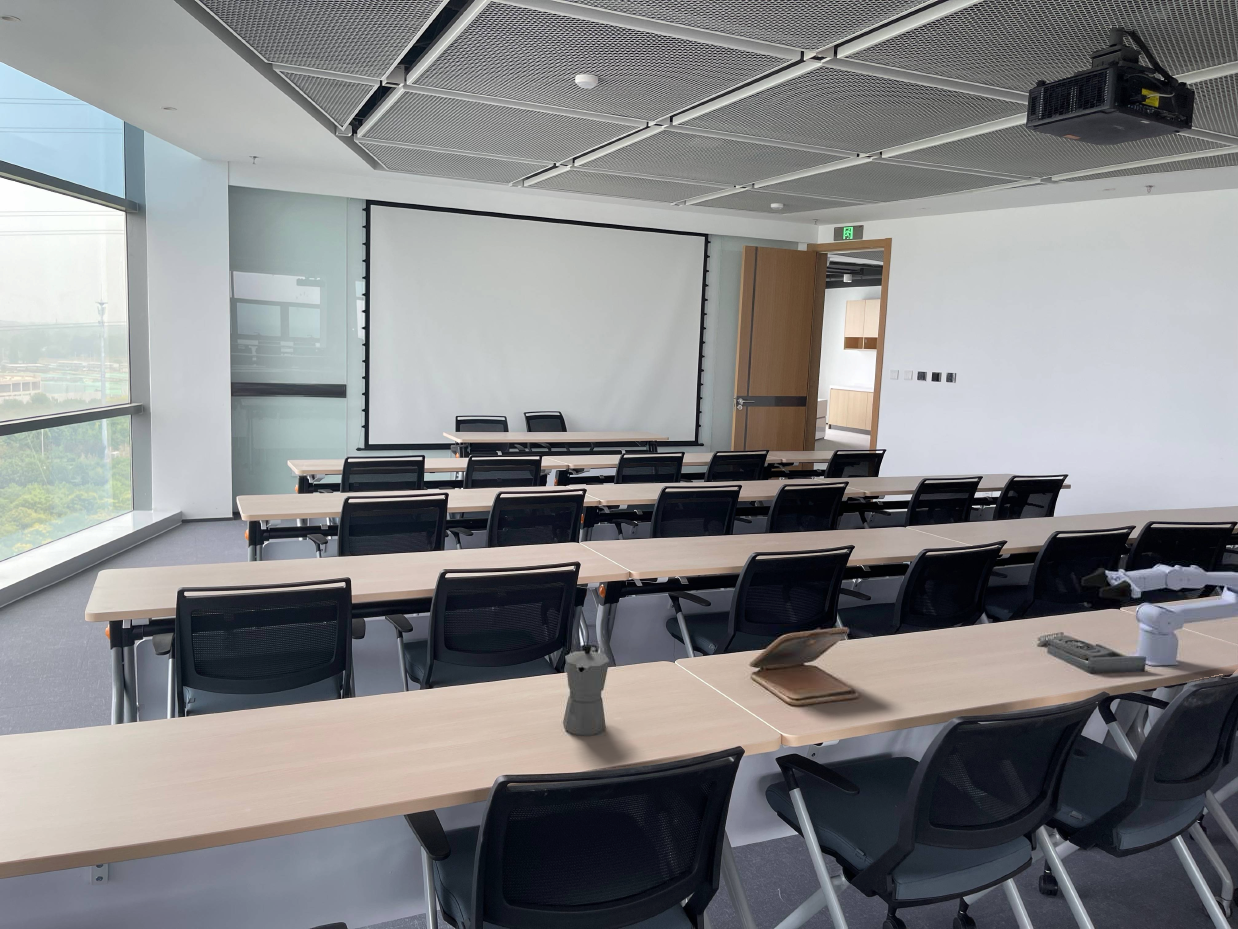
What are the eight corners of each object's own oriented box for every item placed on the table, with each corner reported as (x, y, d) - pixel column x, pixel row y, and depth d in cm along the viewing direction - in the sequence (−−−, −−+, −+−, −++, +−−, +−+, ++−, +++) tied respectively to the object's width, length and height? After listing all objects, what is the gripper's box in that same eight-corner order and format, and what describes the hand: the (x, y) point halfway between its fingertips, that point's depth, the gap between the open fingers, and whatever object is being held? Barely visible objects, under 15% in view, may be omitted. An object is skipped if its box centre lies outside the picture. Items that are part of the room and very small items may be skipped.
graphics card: (1034, 635, 243) (1061, 630, 248) (1033, 647, 243) (1060, 642, 249) (1088, 655, 228) (1116, 649, 233) (1087, 668, 229) (1114, 662, 234)
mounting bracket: (1098, 650, 241) (1100, 637, 240) (1144, 671, 225) (1146, 657, 225) (1047, 652, 237) (1048, 639, 237) (1090, 673, 221) (1092, 659, 221)
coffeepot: (600, 743, 168) (604, 657, 166) (555, 737, 169) (558, 653, 167) (612, 712, 183) (616, 633, 181) (571, 707, 184) (574, 629, 182)
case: (813, 668, 217) (816, 608, 215) (863, 699, 197) (868, 634, 195) (744, 676, 209) (748, 615, 207) (790, 709, 190) (794, 642, 188)
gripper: (1120, 558, 237) (1075, 564, 236) (1157, 578, 223) (1109, 584, 222) (1118, 580, 238) (1074, 587, 237) (1155, 602, 224) (1108, 608, 223)
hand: (1091, 587), depth 230 cm, fingers open, 7 cm apart
